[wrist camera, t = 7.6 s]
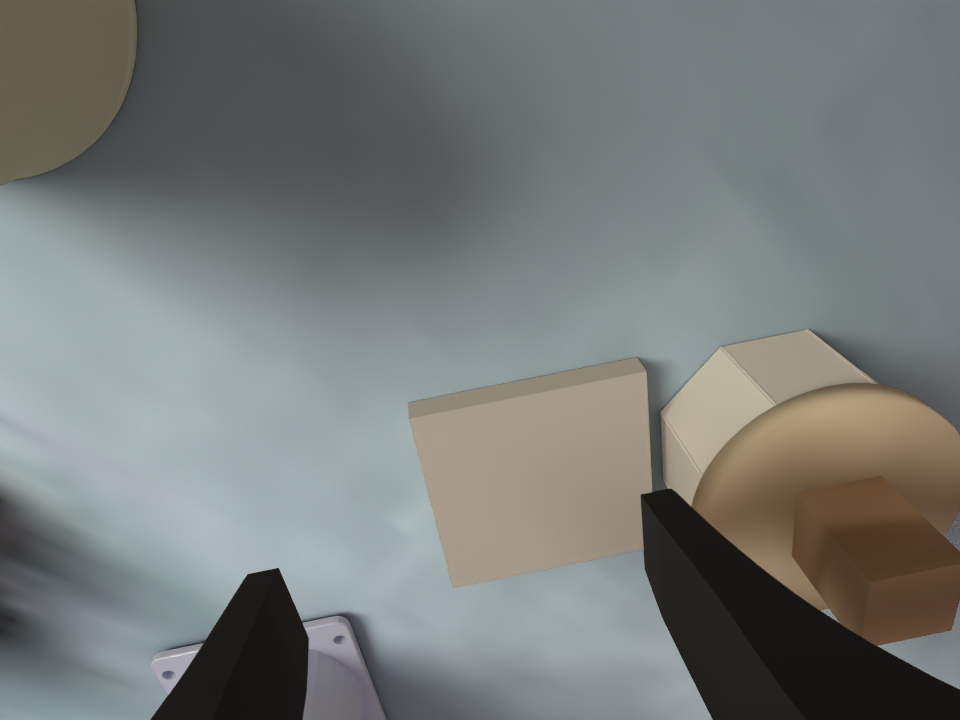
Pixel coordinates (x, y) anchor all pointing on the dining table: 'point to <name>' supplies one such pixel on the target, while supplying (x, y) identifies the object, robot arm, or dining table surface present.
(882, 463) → the lid
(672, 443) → the bowl
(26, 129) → the can
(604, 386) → the cream block
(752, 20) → the dining table surface
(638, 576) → the dining table surface
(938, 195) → the dining table surface
